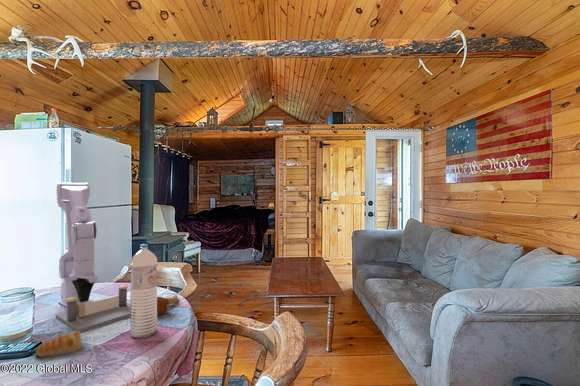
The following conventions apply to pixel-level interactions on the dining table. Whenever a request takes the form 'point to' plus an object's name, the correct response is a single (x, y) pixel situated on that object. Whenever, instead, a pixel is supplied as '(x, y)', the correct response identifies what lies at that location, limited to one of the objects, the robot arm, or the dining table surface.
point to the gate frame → (95, 318)
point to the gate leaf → (97, 305)
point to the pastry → (60, 345)
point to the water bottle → (143, 293)
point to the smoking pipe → (164, 304)
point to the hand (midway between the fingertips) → (84, 301)
